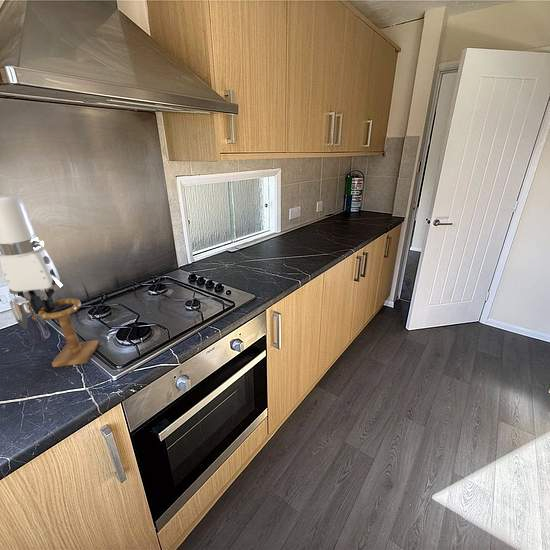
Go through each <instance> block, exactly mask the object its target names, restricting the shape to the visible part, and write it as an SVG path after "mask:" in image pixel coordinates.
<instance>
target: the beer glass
mask: <svg viewBox="0 0 550 550" xmlns="http://www.w3.org/2000/svg"><path fill="white" fill-rule="evenodd" d="M9 305H10V308H11V312H12V314H13V317H14V319H15V321H16V323H18V325H19V326H20V328H21V329H22V330H23V331H24V333H25V335H26V337H27V342H28V344H29V345H39V344H42V343H44V342H47V341H48V340H50V339H51V338H52V333H51V332H50V330H49V329H48V326H47V319H44V318H40V317H39V314H37V315H36V314H35V312H34V310H33V309H32V307H31V304H30V302H28V301H26V299H25V298H23V297H21V296H19V295H18V296H17V297H14V298H13V299H11V300H10V301H9Z"/></svg>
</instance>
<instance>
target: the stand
mask: <svg viewBox="0 0 550 550" xmlns="http://www.w3.org/2000/svg"><path fill="white" fill-rule="evenodd" d="M57 321H58V323H59V326H60V329H61V331H62V334H63V336H64V339H65V341H66V344H64V347H63V348H62V349H61V350H60V352H59V353H58V354H57V355H56V357H55V358H54V359H53V360H52V362H51V365H52V368H57V367H65V366H73V365H82V364H89V362H90V360H91V358H92V357H93V355H94V354H95V352H96V350H97V349H98V348H99V346H100V344H99V343H100V340H99V339H95V340H85V341H80V340H79V336H78V334H77V332H76V329H75V326H74V323H73V321H72V317H71V314H70V315H68V316H64V317H61V318H57ZM93 353H94V354H93ZM92 354H93V355H92ZM91 356H92V357H91Z"/></svg>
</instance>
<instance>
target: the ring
mask: <svg viewBox="0 0 550 550" xmlns="http://www.w3.org/2000/svg"><path fill="white" fill-rule="evenodd" d="M53 302H54V304H55V308H57V307H60V306H63V305H64V306H65V305H72V306H71V307H68V308H66V309H63V310H59V311H56V312H50V313H47V312H46V311H45V309H44V307H42V308H41V309H39V311H38V314H39V317H40V318H44V319H46V320H56V319H57V320H58V318H61V317H64V316H68V315H70V316H71V315H72V314H73V313H76V312H77V311H78V310H80V308H81V307H82V302H81V300H80V299H77V298H72V297H71V298H70V297H69V298H60V299H56V300H53Z"/></svg>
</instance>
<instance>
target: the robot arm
mask: <svg viewBox="0 0 550 550" xmlns="http://www.w3.org/2000/svg"><path fill="white" fill-rule="evenodd" d="M44 246H45V243H44V241H43V240H39V238H38V237H37V235H36V233H35V230H34V227H33V224H32V221H31V218H30V216H29V214H28V211H27V208H26V205H25V203H24V200H23V199H22V198H21V196H19V195H17V194H0V266H1V270H2V274H3V277H4V279H5V281H6V285H7V286H8V288H9V294H11V295H16V296H18V297H19V296H21V297H23V298H25V299H26V301H28V302H30V304H31V307H32V309H33V310H34V312H35V314H36V315H37V314H38V311H39V309H41V308H42V307H44V309H45V311H46V312H47V313H52V312H53V310H55V308H56V307H55V304H54V302H53V301H54V299H53V297H52V296H53V295H54V294H55V293H56V292H58V291H60V290H61V289H62V288H63V287H64V285H63V284H62V282H60V280H61V278H60V275H59V272H58V270H57V268H56V266H55V264H54V262H53V260H52V258H51V256H50V255H49V253H48V252H47V250H46V249H45V248H44ZM36 291H39V294H40V295H41V297H40V296H39V295H38V294H37V292H36Z"/></svg>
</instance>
